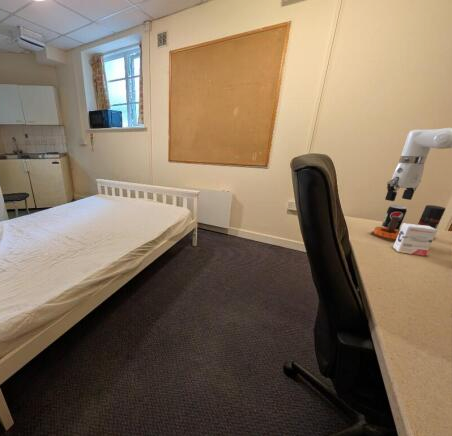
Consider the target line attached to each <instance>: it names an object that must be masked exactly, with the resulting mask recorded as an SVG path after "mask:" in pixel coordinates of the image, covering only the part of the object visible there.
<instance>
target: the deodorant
mask: <svg viewBox="0 0 452 436" xmlns="http://www.w3.org/2000/svg"><path fill="white" fill-rule="evenodd" d="M445 211H446V207H443V206H440V205H431V204H426V205H425V206H424V209H423V211H422V213H421V216H420V218H419V221H418V223H417V225H424V226H430V227H432V228H434V229H436V230H437V228H438V226H439V224H440V222H441V220H442V218H443V215H444V213H445Z"/></svg>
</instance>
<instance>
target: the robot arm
mask: <svg viewBox="0 0 452 436" xmlns="http://www.w3.org/2000/svg"><path fill="white" fill-rule="evenodd" d="M431 149H436V150H437V149H438V150H439V149H440V150H447V149H452V127H443V128H436V129H433V128H432V129H431V128H427V129H426V128H425V129H423V128H422V129H421V128H420V129H412V130H410V131H408V134H407V136H406V139H405V142H404V145H403V148H402V151H401V154H400V157H399V159H398V163H397V166H396V168H395V170H394V172H393V174H392V177H391V179H390V180H388V181H387V182H386V183H387V185H386V189H387V192H386V195H385V197H384V200H385V201H389V202H395V201H396V197H397V195H398V191H399V189H400V188H401V189H404V191H403V193H402V196H401V199H403V200H407V201H411V200H412V199H413V196H414V194H415V191H416V190H417V188H418V187H419V186H420V183H421V182H422V178H423V174H424V171H425V164H426V160H427V158H428V156H429V153H430V150H431Z"/></svg>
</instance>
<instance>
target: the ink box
mask: <svg viewBox="0 0 452 436" xmlns="http://www.w3.org/2000/svg"><path fill="white" fill-rule="evenodd" d="M399 231H400V232H399V234H398V236H397V239H396V241H395V242H394V244H393V246H392V248H393V249H394V250H395V251H396V252H397V253H403V254H409V255H415V256H416V255H417V256H423V257H426V255H427V253H428V251H429V249H430V247H431V245H432V242H433V241H434V238H435V237H436V234H437V232H438V230H437V228H436V229H434V228H432V227H430V226H424V225H418V224H414V223H407V222H405V223H404V222H402V224H401V226H400V228H399Z"/></svg>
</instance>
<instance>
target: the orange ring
mask: <svg viewBox="0 0 452 436" xmlns="http://www.w3.org/2000/svg"><path fill="white" fill-rule="evenodd" d="M387 229H388V228H386V227H383V226H376V227H375V228H374V230H373V231H374V233H375V234H377V235H380V236H383V237H386V238H392V239H397V236H398V234H399V232H400V230H399V229H398V230H394V233H388V232H387Z"/></svg>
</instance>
